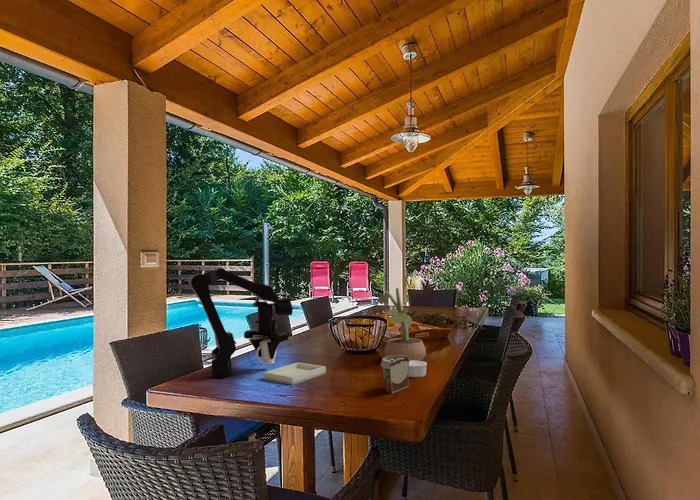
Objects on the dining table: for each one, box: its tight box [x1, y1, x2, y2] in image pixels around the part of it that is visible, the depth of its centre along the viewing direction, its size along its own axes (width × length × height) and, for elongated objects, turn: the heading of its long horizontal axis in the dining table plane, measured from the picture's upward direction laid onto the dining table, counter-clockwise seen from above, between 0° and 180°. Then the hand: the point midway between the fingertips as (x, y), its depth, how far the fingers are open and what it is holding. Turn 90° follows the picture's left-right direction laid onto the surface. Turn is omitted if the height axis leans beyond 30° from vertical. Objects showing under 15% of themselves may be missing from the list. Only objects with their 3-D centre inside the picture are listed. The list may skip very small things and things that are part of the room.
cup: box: [255, 339, 278, 365], centre depth 183 cm, size 7×10×8 cm
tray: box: [263, 361, 327, 386], centre depth 173 cm, size 18×14×2 cm
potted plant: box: [376, 287, 427, 361], centre depth 194 cm, size 22×18×30 cm
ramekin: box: [409, 360, 428, 378], centre depth 171 cm, size 9×9×4 cm
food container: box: [380, 355, 410, 394], centre depth 155 cm, size 12×6×10 cm, turn 141°
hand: (266, 357), depth 183 cm, fingers closed on cup, 6 cm apart
